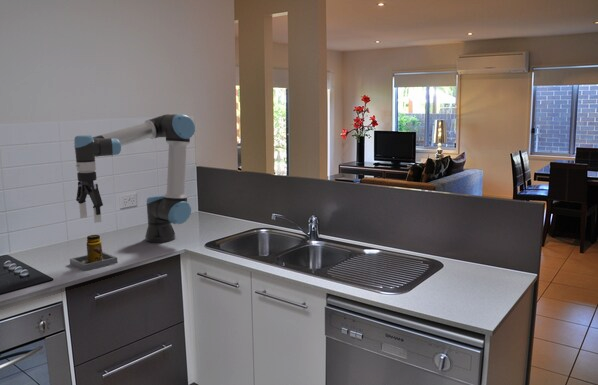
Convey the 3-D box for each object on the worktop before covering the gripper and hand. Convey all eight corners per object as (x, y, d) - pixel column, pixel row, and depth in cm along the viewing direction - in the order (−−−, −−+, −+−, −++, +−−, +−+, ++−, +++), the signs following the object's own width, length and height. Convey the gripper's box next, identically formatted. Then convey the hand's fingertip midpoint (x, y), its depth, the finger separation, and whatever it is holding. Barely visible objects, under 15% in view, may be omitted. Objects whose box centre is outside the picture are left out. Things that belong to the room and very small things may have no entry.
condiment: (104, 263, 224) (102, 236, 222) (83, 266, 220) (81, 239, 218) (102, 258, 230) (100, 233, 228) (82, 261, 227) (80, 235, 225)
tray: (102, 256, 235) (102, 251, 235) (117, 262, 226) (117, 257, 225) (70, 264, 224) (69, 258, 224) (84, 270, 215) (83, 265, 215)
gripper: (65, 170, 224) (69, 217, 228) (91, 174, 207) (95, 225, 211) (82, 168, 229) (86, 214, 233) (108, 172, 213) (112, 222, 216)
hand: (90, 219), depth 222 cm, fingers open, 13 cm apart
